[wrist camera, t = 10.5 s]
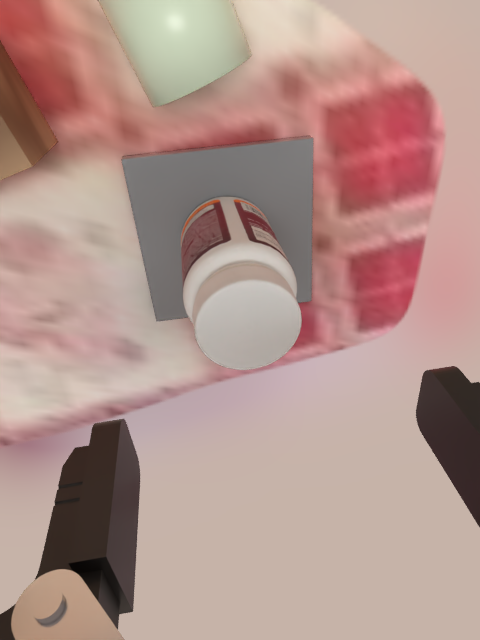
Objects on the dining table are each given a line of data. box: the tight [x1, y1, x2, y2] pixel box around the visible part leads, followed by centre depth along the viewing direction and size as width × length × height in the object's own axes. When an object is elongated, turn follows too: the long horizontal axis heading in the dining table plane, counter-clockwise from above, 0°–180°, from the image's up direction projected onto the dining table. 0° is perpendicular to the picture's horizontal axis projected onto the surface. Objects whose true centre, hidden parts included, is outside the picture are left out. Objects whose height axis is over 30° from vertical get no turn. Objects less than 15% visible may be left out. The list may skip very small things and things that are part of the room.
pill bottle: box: [181, 197, 302, 370], centre depth 20 cm, size 5×5×8 cm
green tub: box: [98, 0, 252, 107], centre depth 17 cm, size 4×4×4 cm
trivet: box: [121, 136, 313, 321], centre depth 24 cm, size 9×9×1 cm
